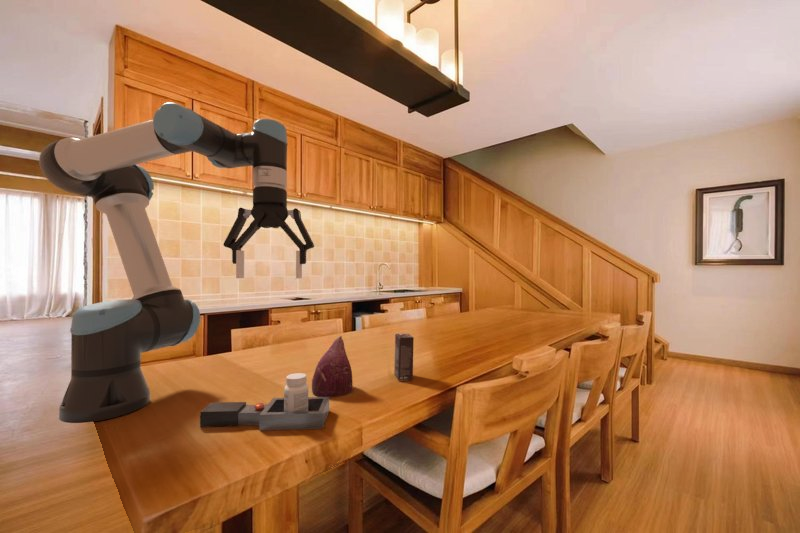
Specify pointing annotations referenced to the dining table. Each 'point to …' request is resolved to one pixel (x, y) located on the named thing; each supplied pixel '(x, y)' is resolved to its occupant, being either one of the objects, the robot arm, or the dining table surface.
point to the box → (403, 357)
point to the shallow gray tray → (266, 415)
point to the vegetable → (333, 372)
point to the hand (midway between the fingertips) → (269, 278)
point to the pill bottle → (296, 393)
